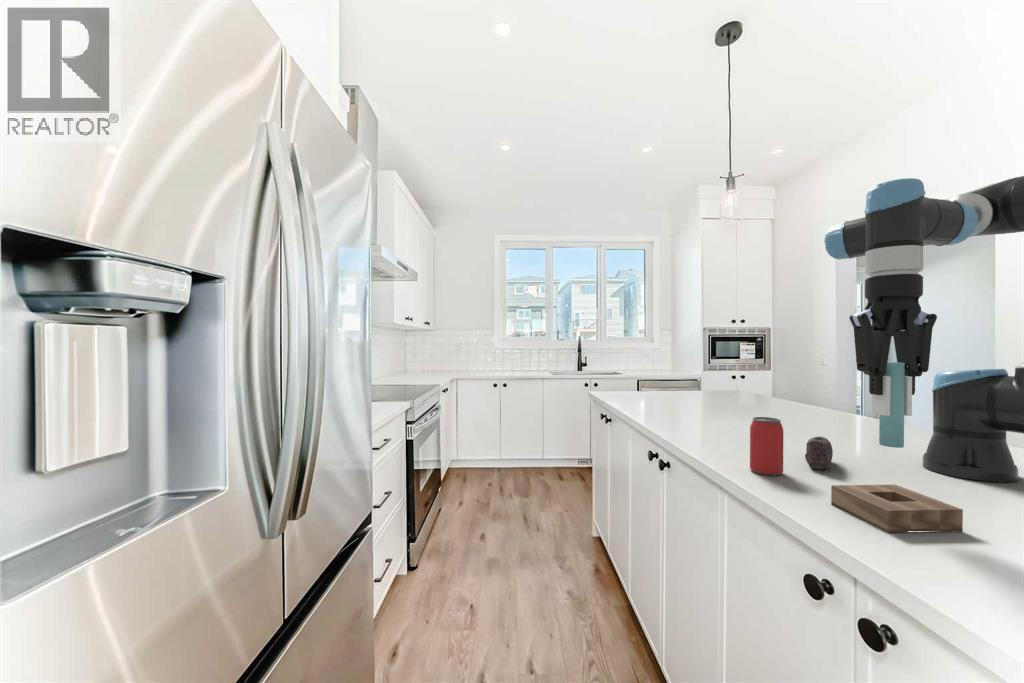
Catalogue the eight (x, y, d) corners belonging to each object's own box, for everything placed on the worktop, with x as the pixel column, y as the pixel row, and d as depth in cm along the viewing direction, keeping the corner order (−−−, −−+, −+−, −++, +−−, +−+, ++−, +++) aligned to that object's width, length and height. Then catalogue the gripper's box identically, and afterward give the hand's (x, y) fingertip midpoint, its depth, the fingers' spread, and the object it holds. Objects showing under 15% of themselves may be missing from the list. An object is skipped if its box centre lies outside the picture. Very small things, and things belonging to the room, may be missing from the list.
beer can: (788, 477, 99) (788, 422, 99) (755, 475, 100) (755, 421, 100) (776, 468, 105) (777, 417, 105) (746, 467, 106) (746, 416, 106)
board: (895, 503, 83) (895, 484, 83) (962, 531, 71) (962, 509, 71) (831, 504, 83) (831, 485, 83) (888, 533, 71) (888, 510, 71)
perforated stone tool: (810, 457, 116) (810, 429, 116) (835, 460, 112) (836, 432, 112) (802, 470, 104) (802, 440, 104) (830, 474, 101) (830, 443, 101)
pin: (892, 443, 78) (893, 362, 78) (909, 447, 75) (909, 363, 75) (874, 443, 78) (875, 362, 78) (890, 447, 75) (891, 363, 75)
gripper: (918, 278, 80) (917, 410, 81) (830, 277, 80) (829, 410, 80) (962, 272, 73) (960, 418, 73) (864, 271, 72) (863, 418, 73)
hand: (891, 414), depth 77 cm, fingers closed on pin, 3 cm apart
